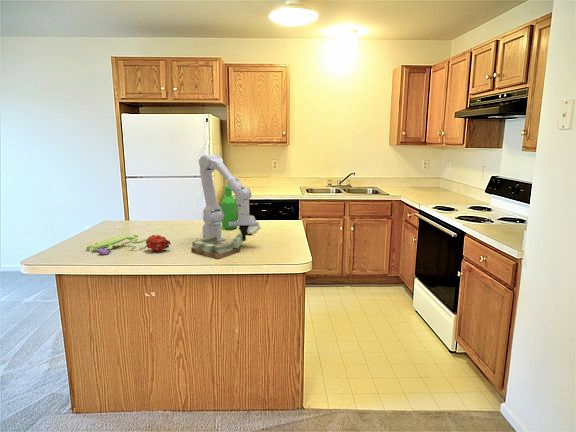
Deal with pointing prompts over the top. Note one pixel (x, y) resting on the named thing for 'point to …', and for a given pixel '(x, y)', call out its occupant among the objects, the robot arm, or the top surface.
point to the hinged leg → (237, 241)
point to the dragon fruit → (157, 243)
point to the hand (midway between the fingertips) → (244, 240)
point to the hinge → (252, 228)
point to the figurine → (103, 245)
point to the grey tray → (213, 248)
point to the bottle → (229, 209)
